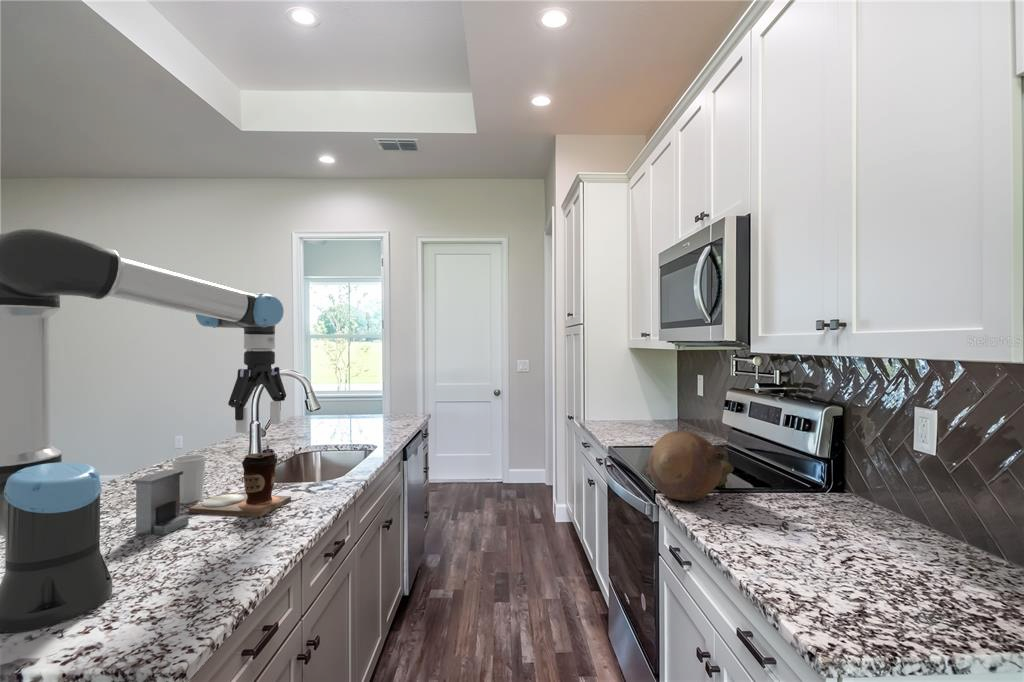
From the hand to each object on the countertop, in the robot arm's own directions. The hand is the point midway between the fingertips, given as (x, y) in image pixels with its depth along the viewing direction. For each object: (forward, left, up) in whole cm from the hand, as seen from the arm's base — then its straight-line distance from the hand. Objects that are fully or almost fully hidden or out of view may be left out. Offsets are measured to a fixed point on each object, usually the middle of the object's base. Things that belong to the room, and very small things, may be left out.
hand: (259, 428), depth 131 cm
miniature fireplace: (-17, +13, -22) cm, 30 cm away
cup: (+3, +24, -22) cm, 33 cm away
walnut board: (0, +5, -22) cm, 22 cm away
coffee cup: (0, 0, -20) cm, 20 cm away
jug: (+28, -120, -22) cm, 125 cm away
